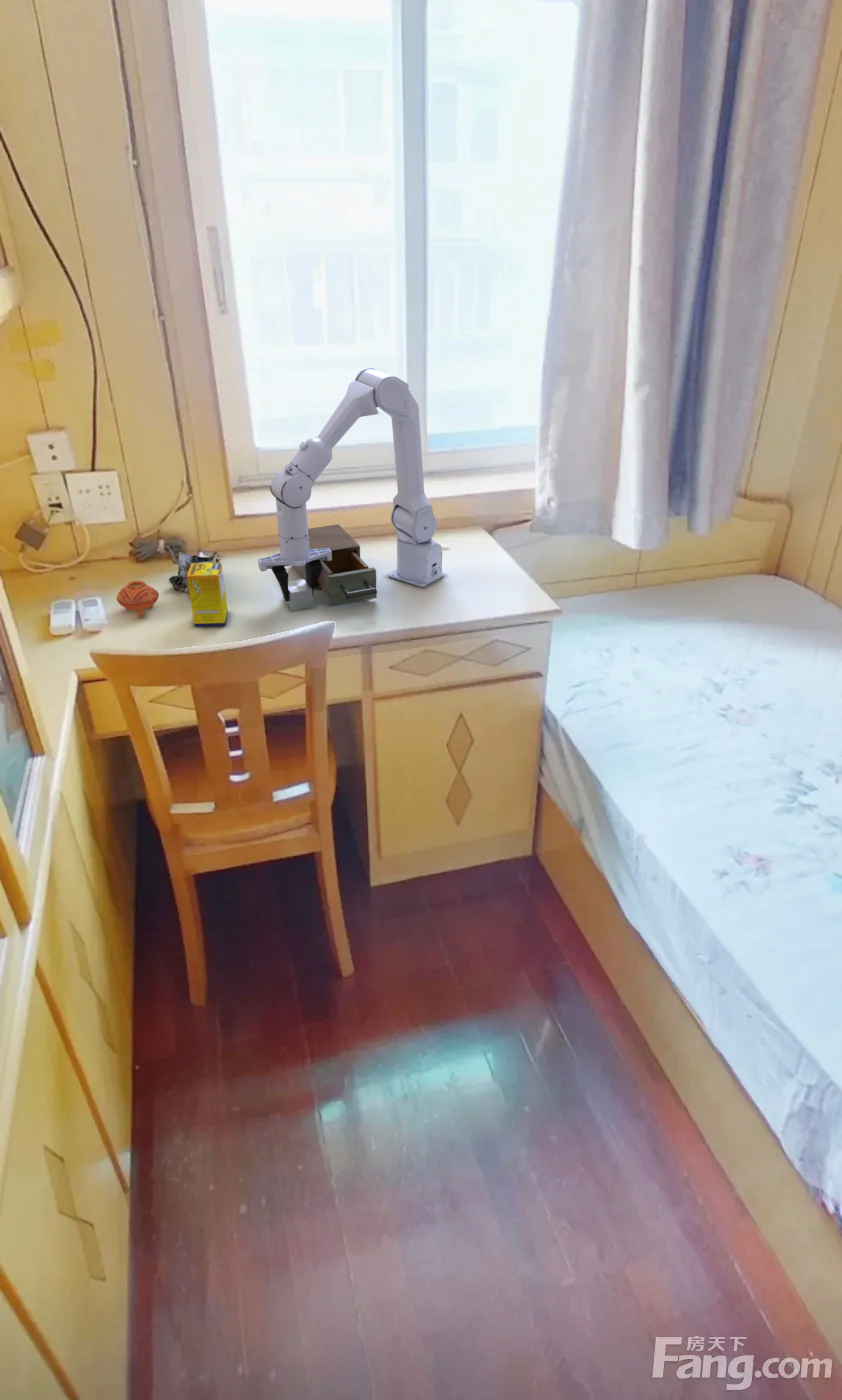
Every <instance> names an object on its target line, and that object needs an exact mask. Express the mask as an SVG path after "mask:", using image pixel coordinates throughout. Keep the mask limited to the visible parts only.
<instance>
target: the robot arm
mask: <svg viewBox="0 0 842 1400" xmlns="http://www.w3.org/2000/svg"><path fill="white" fill-rule="evenodd" d="M409 389H410V388H409V384H408V383H407V382H406V381H404V380H403V379H401V378H399V377H398V376H395V375H390V374H387V373H385V372H382V371H379V370H378V369H376V368H374V367H365V368H363V369H361V370H360V371H359V372H358V373H357V374H356V376H355V378H354V379H353V380H352V381H351V382H350V383H349V384H348V387H347V390H346V393H345V395H344V397H343V398H342V400H341V401H340V403H339V404H338V406H337V407H336V409H335V410H334V412H333V413H332V415H331V416H330V418H329V419H328V421H327V422H326V424H324V426H323V428H322V429H321V431H320V432H319V433H318V435H317V436H314V437H309V438H307V439H306V441H301V442H300V444H299V445H298V448H299V450H298V451H297V452H296V453H295V455H294V456H293V458H292V459H291V460H290V462H289V463H286V464H285V465H284V467H283V470H281V471H280V470H279V471H277V472H276V473H275V474H274V476H273V477H272V479H271V484H270V485H268V489H269V492H270V494H271V495H272V496H273V498H275V507H276V519H277V520H276V521H277V533H278V541H279V542H278V543H279V552H278V553H275V554H271V555H269V556H265V557H261V558H258V559H257V565H258V569H259V571H260V572H262V573H263V572H266V571H267V570H271V572H272V573H273V575H274V577H275V578H276V581H277V583H278V585H279V587H280V590H281V593H282V597H283V600H284V601H285V603H286V602H288V601H289V590H288V582H289V575H290V574H289V573H288V572H287V568H286V567H291V566H293V565H295V566H303V565H305V570H306V579H307V583H308V584H309V586H310V587H311V588H312V590H313V598H314V597H315V590H316V589H315V586H316V582H317V580H318V577H319V575H320V573H321V571H322V568H323V566H322V564H321V561H322V560H327V561H331V560H332V551H331V550H330V549H329V548H325V549H309V537H308V529H309V526H308V525H309V523H308V511H307V502H309V500H310V499H311V496H312V488H313V486H314V483H315V482H316V481H317V480H318V479H319V477H320V476H321V474H322V473H323V472H324V471H325V469H326V468H327V467H328V465H329V464H330V463H331V461H332V460H333V448H334V447H335V446H336V445H337V444H338V443H339V442H340V440H341V439H342V438H343V437H344V436H345V435H346V433H347V432H348V431H350V429H351V428H352V427H353V426H354V424H355V423H356V422H357V421H358V420H359V419H360V418H362V417H369V416H376V415H379V414H380V412H379V411H378V408H379V409H380V410H381V411H383V412H384V413H385V414H387V415H388V416H389V417H390V418H391V427H392V437H393V439H392V440H393V450H394V461H395V462H394V463H395V475H396V484H397V485H396V488H397V494H395V496H394V497H393V498H392V510H391V512H390V522H391V524H392V526H393V527H394V528H395V529H396V530H395V531H396V570H393V571H392V572H391V573H389V574H388V577H389V578H392V579H395V580H398V581H401V582H404V583H408V584H411V585H414V586H417V587H420V588H425V587H427V586H429V585H430V584H432V583H434V582H435V581H436V580H439V579H441V578H442V577H444V575H445V574H444V573H443V548H442V545H441V544H440V543H438V542H436V541H435V540H434V539H433V537H434V536H435V535H436V532H437V529H438V520H437V518H436V516H435V514H434V510H433V504H432V503H431V501H430V500H429V498H428V496H427V495H426V492H425V486H424V485H425V484H424V469H423V454H422V453H423V452H422V437H421V436H422V435H421V423H420V422H421V421H420V408H419V404H418V402H417V401H416V398H415V397H414V395H413V394H412V393H411V391H410V390H409Z"/></svg>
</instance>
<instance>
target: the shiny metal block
mask: <svg viewBox="0 0 842 1400" xmlns="http://www.w3.org/2000/svg"><path fill="white" fill-rule="evenodd" d="M288 590H289V601H288V602H286V601H285V603H286V604H287V606H288V607H289V609H290V610H291V611H292V612H295V611H300V610H306V609H311V608H314V597H313V590H312V588H311V587H310V586H309V584H308V583H307V582H306V580H305V579H303V578H301V579H295V580H290V581H289V580H288Z"/></svg>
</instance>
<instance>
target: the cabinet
mask: <svg viewBox="0 0 842 1400" xmlns="http://www.w3.org/2000/svg"><path fill="white" fill-rule="evenodd" d="M308 537H309V549H325V548H329V549H330V550H331V551H332V554H333V553H340V552H346V551H352V550H353V551H354V552H355V553H356V554H357V555H358V556H359V557H360V558H361V546H360V544H359V543H358V542H357V541H356V540H355V539H354V538H353V537H352V536H351V535H350V534H349V533H348V532H347V531H346V530H345V529H344V528H343V527H342V526H341V525H340V524H339V523H338V524H331V525H324V526H318V527H310V528H308ZM292 566H293V567H294V568H295V569H296V571H297V572H298V574H299V575H300V576H301V577H302V579H305V580H306V582H307V579H306V570H305V565H303V566H295V565H292ZM317 589H322V588H321V587H320V586H319V585H318V583H317V582H316V586H315V590H317Z"/></svg>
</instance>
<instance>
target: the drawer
mask: <svg viewBox="0 0 842 1400" xmlns="http://www.w3.org/2000/svg"><path fill="white" fill-rule="evenodd" d="M321 564H322V566H323V568H322V571H321V573H320V575H319V577H318V580H317V583H318V585H319V586H320V587H321V588H320V589H321V590H322V591H323V592H324V594H325V595H326V596H327V597H328V605H329V607H335V606H340V605H345V604H350V603H357V602H362V601H367V600H372V599H377V597H378V596H377V595H378V590H377V569H376V568H375V567H369V566H368V565H367V563H366V562H365V561H364V560H363V559H362V558H361V556H360V557H359V556H358V555H357V554H356V553H355V552H354V551H353V550H352V551H346V552H340V553H333V554H332V560H331V561H327V560H322V561H321Z"/></svg>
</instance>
